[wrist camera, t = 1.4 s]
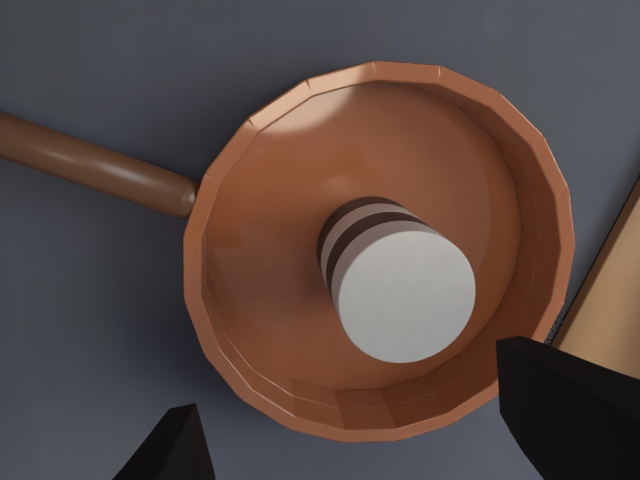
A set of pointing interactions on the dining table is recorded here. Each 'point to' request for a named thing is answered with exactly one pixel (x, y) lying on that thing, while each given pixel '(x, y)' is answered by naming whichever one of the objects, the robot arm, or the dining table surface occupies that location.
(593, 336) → the wooden mat
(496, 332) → the pan
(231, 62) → the dining table surface
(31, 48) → the dining table surface
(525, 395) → the robot arm
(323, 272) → the cylinder
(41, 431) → the dining table surface
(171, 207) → the pan handle
